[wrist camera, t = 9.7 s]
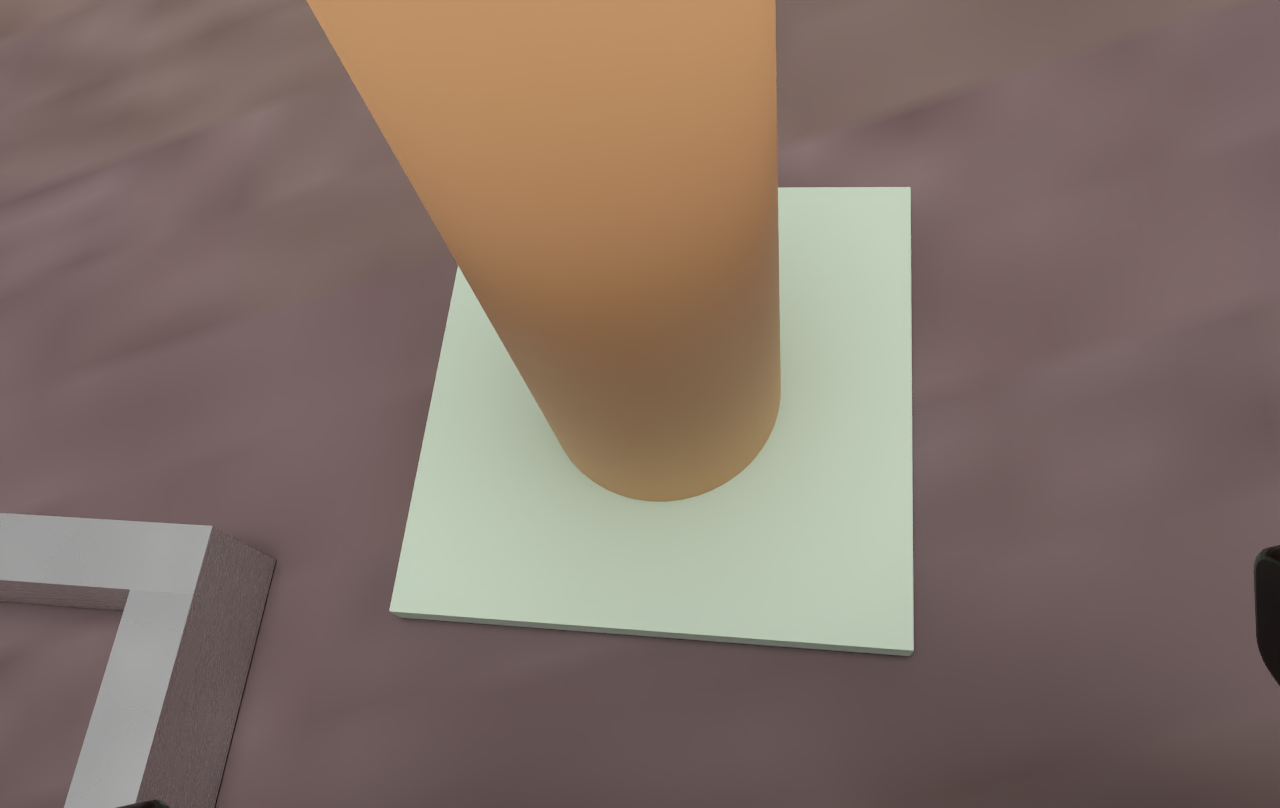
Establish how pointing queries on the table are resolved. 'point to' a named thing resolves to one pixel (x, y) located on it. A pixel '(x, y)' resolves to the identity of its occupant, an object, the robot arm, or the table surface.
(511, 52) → the plug
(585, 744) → the table surface
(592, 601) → the mat
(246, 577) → the frame
